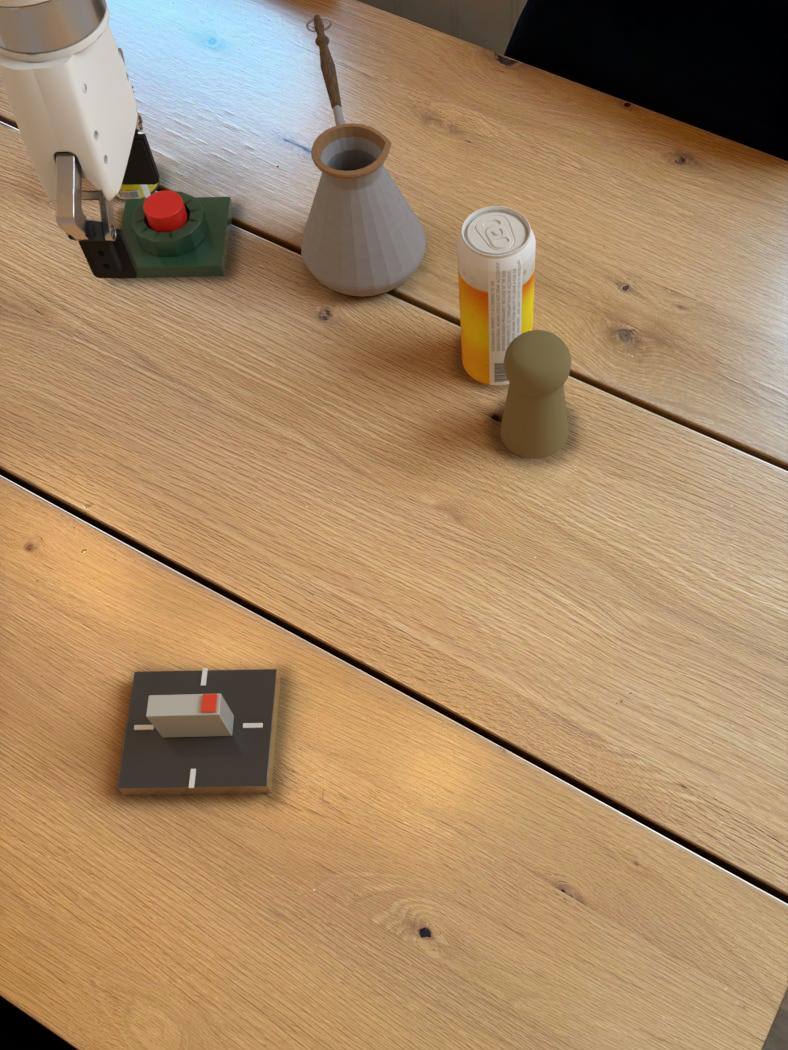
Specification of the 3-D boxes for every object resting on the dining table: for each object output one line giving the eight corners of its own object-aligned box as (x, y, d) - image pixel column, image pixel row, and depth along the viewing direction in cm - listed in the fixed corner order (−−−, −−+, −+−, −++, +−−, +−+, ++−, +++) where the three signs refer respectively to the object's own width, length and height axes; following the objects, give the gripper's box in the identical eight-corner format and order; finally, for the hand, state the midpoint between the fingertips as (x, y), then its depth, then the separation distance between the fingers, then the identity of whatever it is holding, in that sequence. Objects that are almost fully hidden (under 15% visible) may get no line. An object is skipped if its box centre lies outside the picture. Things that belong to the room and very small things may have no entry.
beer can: (515, 331, 95) (518, 193, 81) (541, 380, 92) (548, 246, 79) (452, 350, 94) (444, 214, 80) (477, 400, 91) (473, 268, 78)
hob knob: (162, 738, 75) (144, 715, 71) (165, 717, 76) (147, 693, 72) (232, 736, 75) (218, 713, 71) (234, 715, 76) (220, 691, 72)
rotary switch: (127, 800, 75) (115, 788, 73) (144, 684, 80) (133, 669, 77) (273, 798, 75) (266, 786, 73) (283, 681, 80) (276, 666, 77)
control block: (119, 286, 98) (105, 252, 95) (133, 217, 102) (119, 182, 99) (226, 283, 98) (216, 250, 94) (235, 215, 102) (226, 180, 98)
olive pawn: (557, 474, 88) (564, 386, 78) (488, 456, 89) (487, 367, 79) (578, 419, 90) (587, 327, 80) (511, 402, 91) (512, 309, 81)
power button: (146, 234, 96) (140, 218, 95) (151, 206, 98) (145, 190, 96) (185, 233, 96) (180, 217, 94) (189, 205, 98) (184, 189, 96)
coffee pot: (439, 300, 97) (429, 160, 83) (316, 323, 96) (286, 185, 82) (395, 147, 106) (380, -1, 93) (282, 166, 105) (251, 19, 92)
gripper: (9, -84, 67) (100, 148, 83) (-59, 95, 60) (55, 314, 75) (125, -84, 67) (195, 148, 82) (72, 94, 59) (160, 314, 75)
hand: (128, 227), depth 79 cm, fingers open, 9 cm apart
